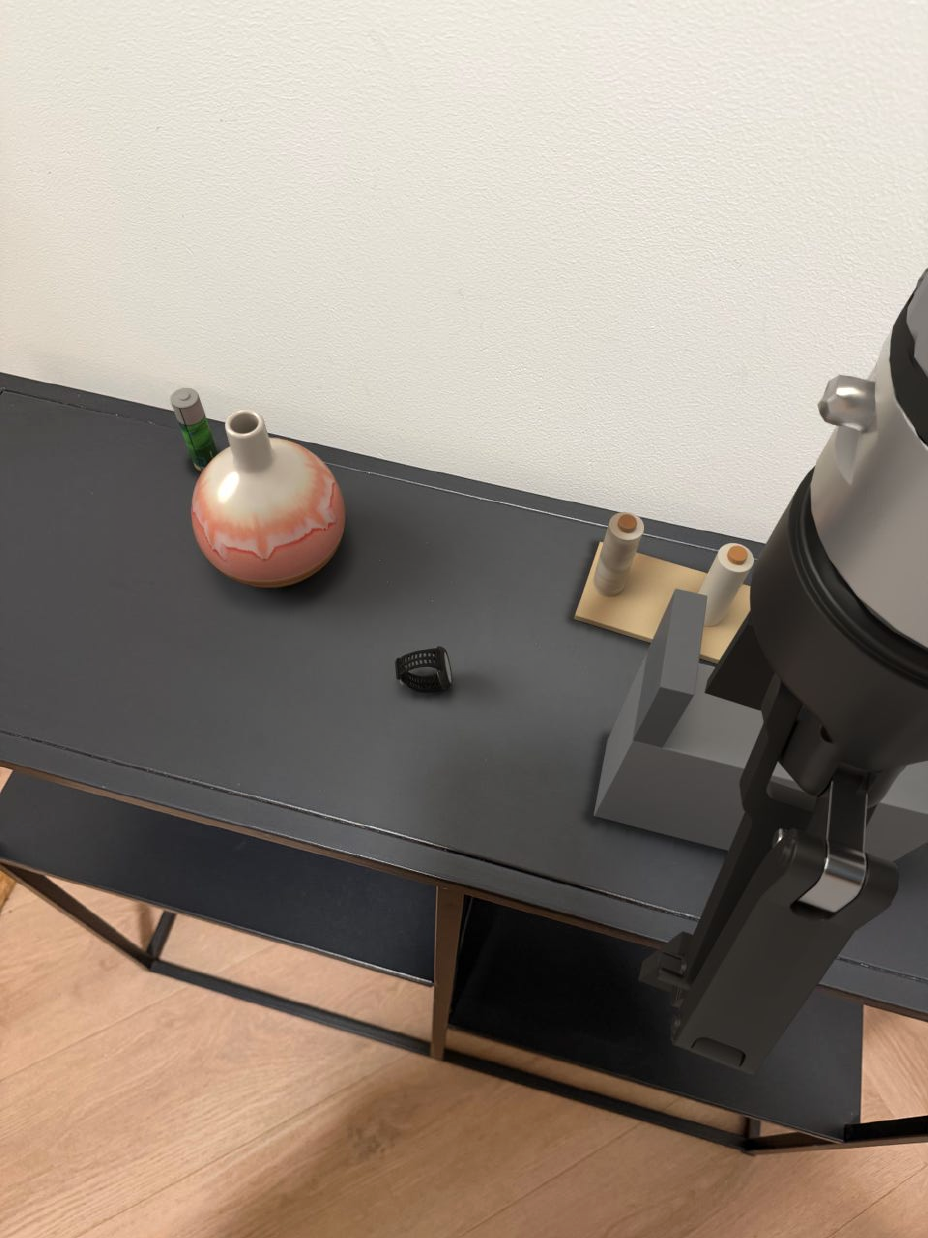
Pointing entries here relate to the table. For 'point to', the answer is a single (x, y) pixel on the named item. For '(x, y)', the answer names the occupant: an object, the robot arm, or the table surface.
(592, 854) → the table surface
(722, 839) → the grey stand
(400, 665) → the smartwatch
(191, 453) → the battery
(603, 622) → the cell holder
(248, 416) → the vase
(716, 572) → the white cell
